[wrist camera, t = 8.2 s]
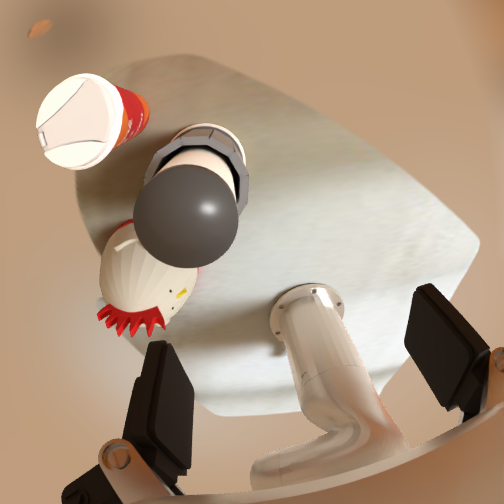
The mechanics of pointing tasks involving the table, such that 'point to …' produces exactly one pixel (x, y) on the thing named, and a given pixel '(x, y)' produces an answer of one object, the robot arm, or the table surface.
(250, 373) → the table surface
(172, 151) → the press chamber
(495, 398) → the robot arm
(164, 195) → the plunger
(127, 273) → the kitchen timer
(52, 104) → the coffee cup
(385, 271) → the table surface
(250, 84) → the table surface
